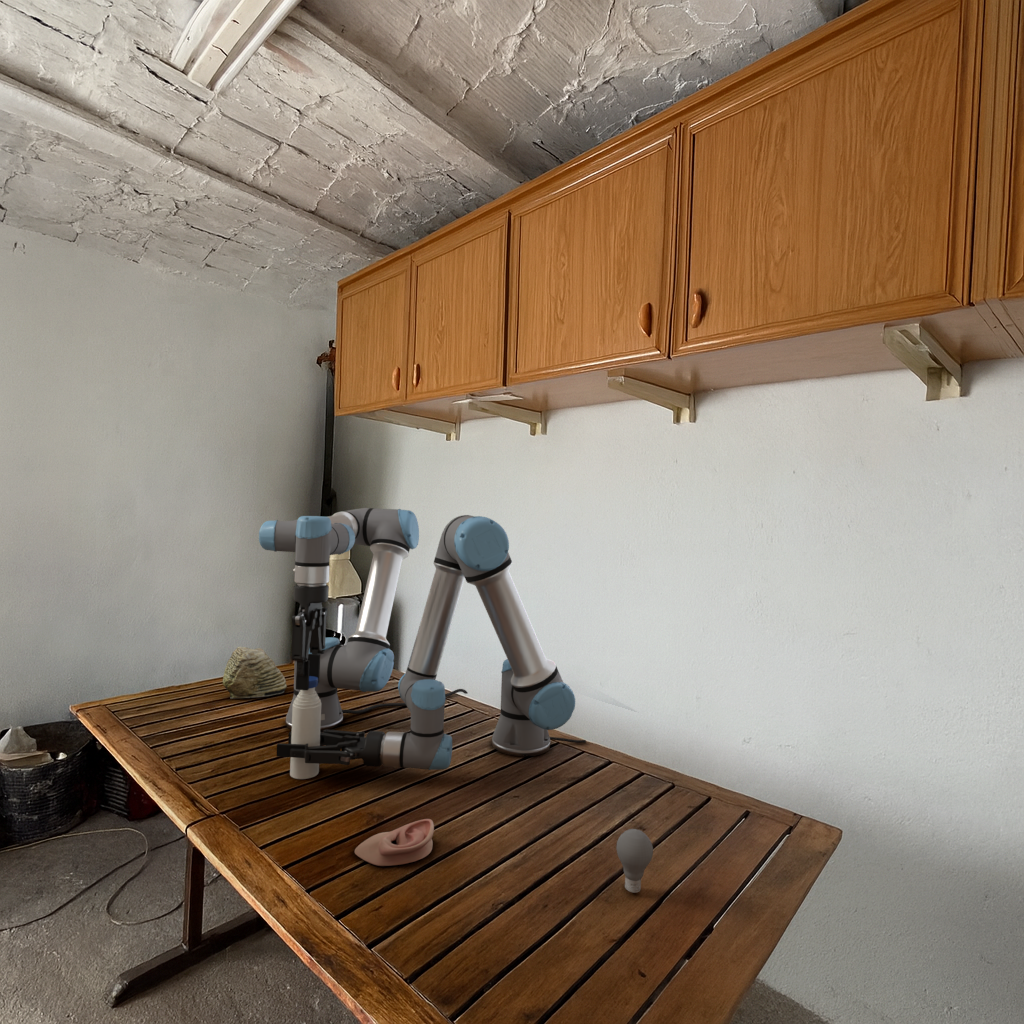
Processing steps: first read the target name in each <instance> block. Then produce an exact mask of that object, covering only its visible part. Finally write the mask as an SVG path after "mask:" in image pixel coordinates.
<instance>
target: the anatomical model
mask: <svg viewBox="0 0 1024 1024" xmlns="http://www.w3.org/2000/svg"><path fill="white" fill-rule="evenodd" d="M434 824H435V823H434V821H433V820H432V819H430V818H424V819H423V818H422V819H419V820H416V821H413V822H410V823H407V824H405V825H402V826H400V827H397V828H395V829H393V830H391V831H384V832H379V833H377V834H374V835H372V836H370V837H368V838H367V839H365V840H363V841H362V842H361V843H360V844H359V845H358V846H356V847H355V849H354V854H355V856H357V857H358V858H360V859H361V860H363V861H365V862H367V863H368V864H372V865H374V866H378V867H390V866H398V865H399V866H400V865H406V864H409V863H413V862H417V861H419V860H422V859H424V858H426V857H427V856H429V854H430V853H431V852H432V850H433V843H434V842H433V839H432V838H433V837H434V834H435V825H434Z"/></svg>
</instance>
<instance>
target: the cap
mask: <svg viewBox="0 0 1024 1024" xmlns="http://www.w3.org/2000/svg"><path fill="white" fill-rule="evenodd" d="M317 686H318V678H317V677H315V676H309V688H314V687H317Z"/></svg>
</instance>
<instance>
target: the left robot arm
mask: <svg viewBox="0 0 1024 1024" xmlns="http://www.w3.org/2000/svg"><path fill="white" fill-rule="evenodd" d="M419 541H420V528H419V522H418V519H417V516H416V514H415V513H414V512H413V511H412V510H408V509H401V508H376V507H362V508H354V509H348V510H344V511H338V512H335V513H333V514H332V515H329V516H321V515H300V516H299V517H298V518H297V519H293V520H278V519H275V520H266V521H264V522H263V523H262V524H261V526H260V528H259V531H258V543H259V545H260V546H261V548H262V549H264V550H265V551H272V552H276V553H277V552H283V553H284V552H285V553H295V559H294V568H293V573H294V583H296V584H295V585H294V586H293V601H294V602H296V603H298V604H299V606H298V607H299V608H298V613H297V615H292V616H291V624H292V635H291V637H292V638H291V661H292V662H294V672H293V695H292V696H293V697H292V699H291V702H290V704H289V708H288V711H287V713H286V715H285V726H286V728H287V729H289V730H292V707H293V702H294V700H295V698H296V697H297V695H298V694H299V692H300V690H309V676H315V677H317V678H318V686H317V687H315V691H316V694H318V696H319V699H320V700H321V727H320V732H323V731H324V730H325V729H327V730H334V729H335V728H337V727H339V726H340V725H342V723H343V722H344V714H351V715H352V714H353V715H358V714H364V713H367V712H369V711H371V710H372V711H373V710H374V709H379V708H386V707H387V708H388V707H389V708H390V707H407V705H406V704H405V702H388V703H386V702H385V703H378V704H374V705H370V706H368V707H365V708H363V709H358V710H353V709H342V706H341V702H340V699H339V695H338V689H339V690H340V689H341V690H351V691H359V692H363V693H366V692H373V693H377V692H379V691H381V690H382V689H384V687H385V686H386V685H387V684H388V682H389V681H390V678H391V677H392V676H391V675H392V673H393V671H394V666H395V665H394V664H395V662H394V661H395V655H394V652H393V650H391V648H390V646H391V644H390V642H389V641H388V640H387V635H388V629H389V625H390V621H391V616H392V611H393V605H394V601H395V598H396V597H395V596H396V592H397V586H398V583H399V578H400V572H401V568H402V563H403V560H405V559H406V558H408V557H409V554H410V551H411V550H414V549H417V547H418V545H419ZM354 545H357V546H358V545H359V546H366V547H369V550H370V551H371V553H372V560H371V563H370V568H369V572H368V576H367V581H366V584H365V590H364V593H363V598H362V602H361V607H360V611H359V615H358V619H357V624H356V628H355V632H354V633H353V634H351V635H350V636H348V638H347V642H346V644H340V643H341V641H340V639H339V638H338V637H334V636H333V637H332V636H331V637H326V632H327V615H328V609H329V608H328V607H327V606H323V603H325V602H328V601H329V591H330V590H329V589H330V588H329V585H328V583H329V582H330V559H331V556H335V555H342V554H345V553H347V552H349V551H350V550H352V548H353V547H354ZM457 693H463V694H465V695H466V694H468V691H467V690H466V689H465V688H458V689H455V690H452V691H451V692H447V693H445V697H446V698H447V697H451V696H453V695H456V694H457Z"/></svg>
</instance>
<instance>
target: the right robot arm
mask: <svg viewBox="0 0 1024 1024" xmlns="http://www.w3.org/2000/svg"><path fill="white" fill-rule="evenodd" d="M437 545H438V546H437V549H436V553H435V557H434V560H433V565H434V568H435V571H434V574H433V578H432V581H431V585H430V588H429V591H428V595H427V598H426V602H425V606H424V609H423V612H422V616H421V620H420V622H419V626H418V629H417V632H416V633H417V634H416V636H415V639H414V644H413V647H412V650H411V654H410V657H409V660H408V664H407V667H406V671H405V673H404V674H402V676H401V677H400V679H399V680H398V684H397V689H398V695H399V697H400V699H401V700H402V701H403V703H405V704H406V705H407V706H406V707H407V710H408V711H409V712H410V727H409V729H410V730H409V732H403V731H387V732H384V731H381V730H380V731H378V730H370V731H368V732H367V733H365V731H349V730H337V729H329V730H327V729H325V730H324V731H320V746H312V747H308V744H305V745H303V744H291V734H292V731H289V732H288V741H287V743H283V742H282V743H281V742H277V743H276V755H275V756H276V757H278V758H291V757H295V758H305V763H317V764H319V765H324V764H325V765H343V766H350V765H351V761H354V760H362V761H363V765H364V766H366V767H374V768H375V767H377V768H379V767H381V766H383V767H384V768H393V769H394V770H397V769H398V768H399V769H400V768H401V769H417V770H428V771H441V770H447V769H448V768H449V767H450V766H451V762H452V756H453V737H452V735H450V734H446V733H445V730H444V727H445V726H444V725H445V708H446V707H445V706H446V700H447V697H445V694H446V687H445V684H444V683H443V681H439V680H437V676H438V671H439V669H440V665H441V660H442V657H443V654H444V651H445V647H446V644H447V641H448V637H449V634H450V632H451V631H450V630H451V627H452V623H453V620H454V617H455V613H456V610H457V607H458V603H459V600H460V597H461V594H462V589H463V586H464V583H465V581H466V582H467V584H470V585H473V586H474V587H475V588H476V590H477V592H478V595H479V597H480V599H481V602H482V604H483V606H484V608H485V611H486V613H487V615H488V618H489V620H490V622H491V624H492V627H493V629H494V631H495V633H496V636H497V638H498V640H499V643H500V645H501V647H502V649H503V653H504V654H505V657H506V659H505V660H503V661H502V668H501V671H500V672H501V685H500V686H501V687H500V712H499V713H500V714H499V718H498V719H497V722H496V726H495V728H494V731H493V732H492V733H493V734H492V739H491V745H492V747H493V748H494V749H495V750H496V751H498V752H500V753H502V754H505V755H509V756H513V757H535V756H539V755H544V754H546V753H547V752H549V750H550V748H551V741H560V742H567V743H573V744H586V743H587V740H586V739H572V738H571V739H570V738H566V737H565V738H564V737H557V736H550V733H549V731H553V730H556V729H560V728H561V727H562V726H564V725H565V724H566V723H568V722H569V720H570V719H571V718H572V716H573V713H574V711H575V708H576V697H575V696H576V695H575V693H574V691H573V690H572V688H571V687H570V685H569V684H567V683H566V682H564V680H563V679H562V676H561V673H560V671H559V669H558V667H557V664H556V662H555V660H552V659H550V658H547V656H546V654H545V652H544V650H543V647H542V645H541V643H540V640H539V637H538V636H537V634H536V630H535V629H534V626H533V624H532V622H531V619H530V616H529V614H528V612H527V610H526V607H525V604H524V602H523V601H522V598H521V596H520V593H519V590H518V588H517V586H516V584H515V581H514V579H513V577H512V574H511V571H510V569H511V567H512V565H513V561H512V558H511V555H510V554H509V553H510V552H509V550H510V541H509V537H508V534H507V532H506V531H505V528H504V527H503V526H501V524H500V523H498V522H497V521H496V520H493V519H492V518H489V517H488V516H487V517H486V516H482V515H481V516H480V515H477V516H474V515H470V514H464V515H458V516H456V517H453V518H452V519H451V520H450V521H449V522H448V523H447V524H446V525H445V527H444V528H443V530H442V532H441V535H440V539H439V542H438V544H437ZM365 735H366V736H365Z"/></svg>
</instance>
